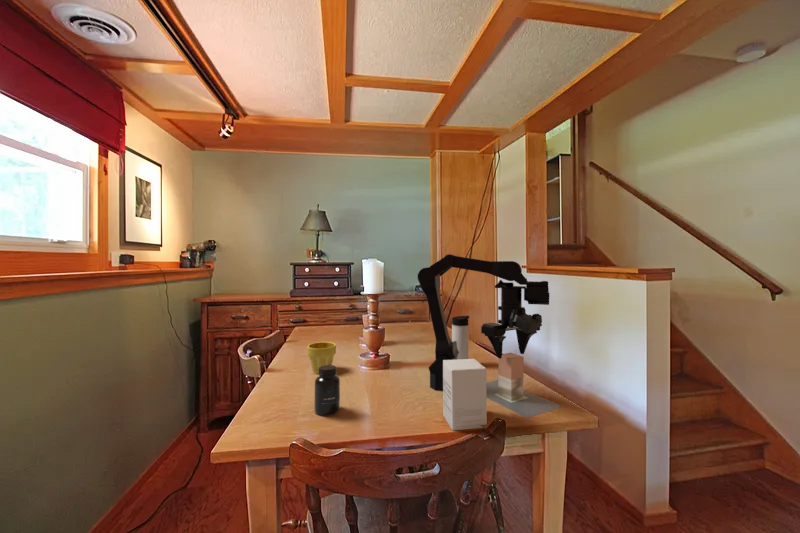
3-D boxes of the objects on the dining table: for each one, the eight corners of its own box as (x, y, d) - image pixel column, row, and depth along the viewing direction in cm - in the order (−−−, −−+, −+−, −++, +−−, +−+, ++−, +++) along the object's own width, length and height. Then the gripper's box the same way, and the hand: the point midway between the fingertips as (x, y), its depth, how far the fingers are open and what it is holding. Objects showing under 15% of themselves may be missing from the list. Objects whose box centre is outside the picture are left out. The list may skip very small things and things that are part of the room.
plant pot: (332, 375, 122) (332, 348, 122) (304, 375, 122) (304, 348, 122) (338, 366, 132) (338, 341, 132) (311, 366, 132) (311, 341, 132)
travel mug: (470, 370, 128) (470, 317, 127) (453, 370, 128) (453, 317, 127) (467, 365, 134) (467, 314, 134) (450, 365, 134) (451, 314, 134)
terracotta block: (511, 379, 97) (511, 359, 97) (498, 374, 102) (498, 354, 102) (523, 377, 100) (523, 356, 100) (510, 372, 104) (510, 352, 104)
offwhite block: (511, 400, 97) (511, 379, 97) (498, 394, 102) (498, 374, 102) (523, 397, 100) (523, 376, 100) (510, 391, 104) (510, 372, 104)
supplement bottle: (327, 418, 89) (327, 372, 89) (309, 412, 92) (308, 368, 92) (345, 408, 95) (344, 365, 94) (327, 403, 98) (326, 362, 98)
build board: (526, 421, 87) (526, 417, 87) (466, 390, 108) (466, 386, 108) (562, 410, 94) (562, 406, 94) (498, 382, 115) (498, 379, 115)
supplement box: (474, 412, 92) (474, 357, 92) (487, 428, 83) (487, 368, 83) (442, 414, 91) (442, 359, 91) (451, 431, 82) (451, 369, 82)
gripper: (509, 309, 89) (508, 368, 89) (556, 304, 98) (555, 358, 98) (480, 304, 99) (479, 357, 99) (525, 300, 107) (524, 349, 108)
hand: (511, 355), depth 101 cm, fingers open, 9 cm apart
